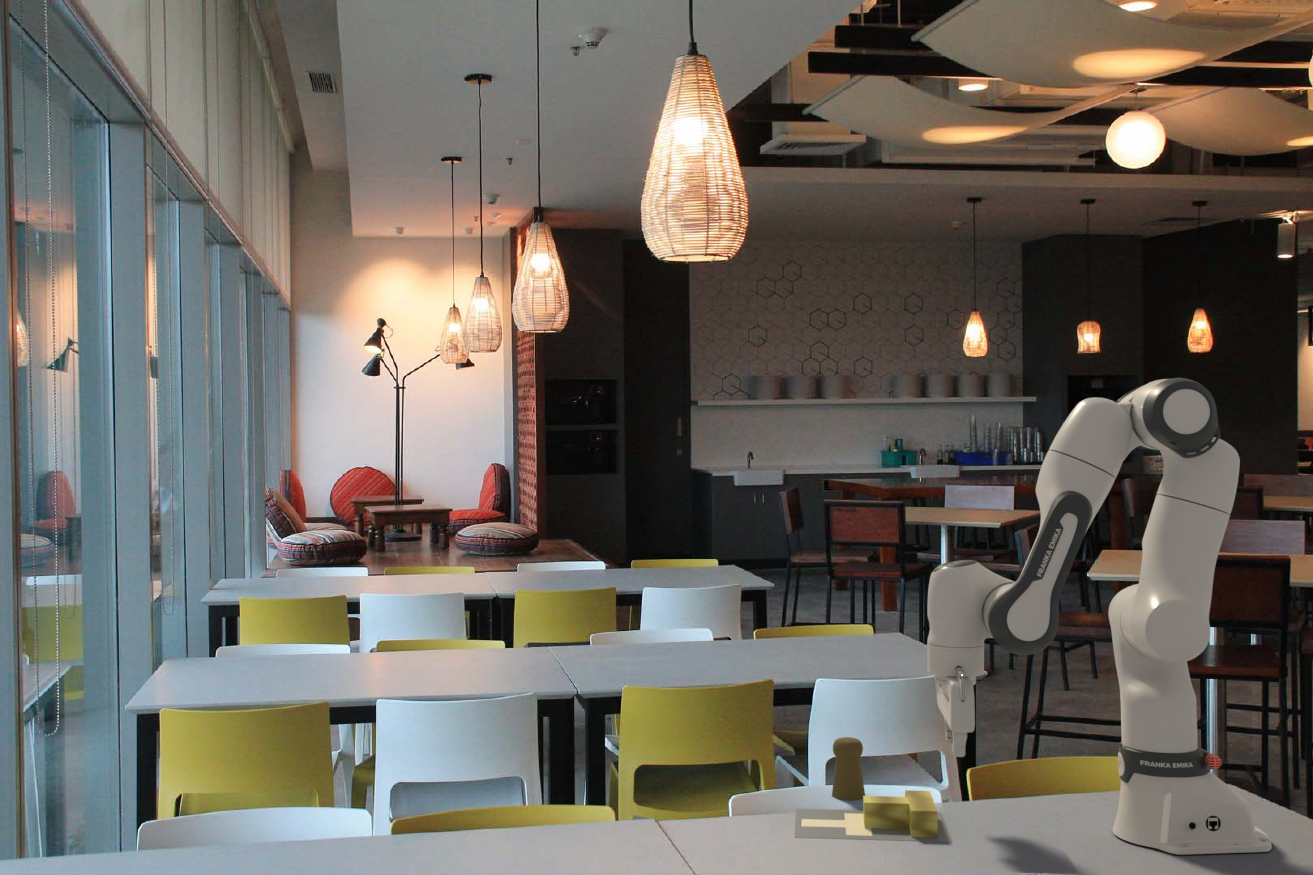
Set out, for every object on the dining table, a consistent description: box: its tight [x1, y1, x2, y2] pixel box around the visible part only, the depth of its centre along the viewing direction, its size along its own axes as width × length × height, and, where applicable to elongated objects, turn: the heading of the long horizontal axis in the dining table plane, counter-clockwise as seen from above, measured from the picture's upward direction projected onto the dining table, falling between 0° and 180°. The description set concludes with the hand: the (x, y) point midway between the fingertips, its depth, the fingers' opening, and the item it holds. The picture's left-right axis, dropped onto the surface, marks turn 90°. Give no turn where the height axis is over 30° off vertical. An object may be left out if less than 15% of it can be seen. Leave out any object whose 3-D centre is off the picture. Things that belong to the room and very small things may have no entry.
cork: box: [831, 736, 866, 801], centre depth 210 cm, size 6×6×11 cm
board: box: [794, 808, 953, 843], centre depth 193 cm, size 24×16×1 cm, turn 83°
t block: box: [862, 789, 938, 838], centre depth 193 cm, size 11×12×4 cm
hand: (955, 748), depth 192 cm, fingers open, 8 cm apart
